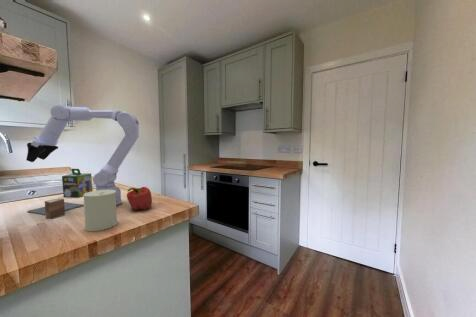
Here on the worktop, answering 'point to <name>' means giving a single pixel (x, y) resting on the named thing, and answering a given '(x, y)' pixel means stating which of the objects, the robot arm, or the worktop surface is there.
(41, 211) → the mat
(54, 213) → the block
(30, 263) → the worktop surface
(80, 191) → the chalk box
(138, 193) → the vegetable
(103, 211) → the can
